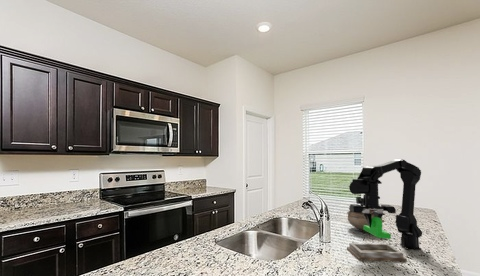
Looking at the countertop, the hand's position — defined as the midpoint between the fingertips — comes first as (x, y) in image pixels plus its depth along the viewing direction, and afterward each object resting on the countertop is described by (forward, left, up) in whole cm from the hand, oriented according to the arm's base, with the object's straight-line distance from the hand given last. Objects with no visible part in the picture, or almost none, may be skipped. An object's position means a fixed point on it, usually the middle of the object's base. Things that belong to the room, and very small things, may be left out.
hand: (372, 227), depth 115 cm
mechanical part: (-1, 0, -3) cm, 3 cm away
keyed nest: (0, +2, -11) cm, 12 cm away
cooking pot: (-13, -36, -12) cm, 40 cm away
